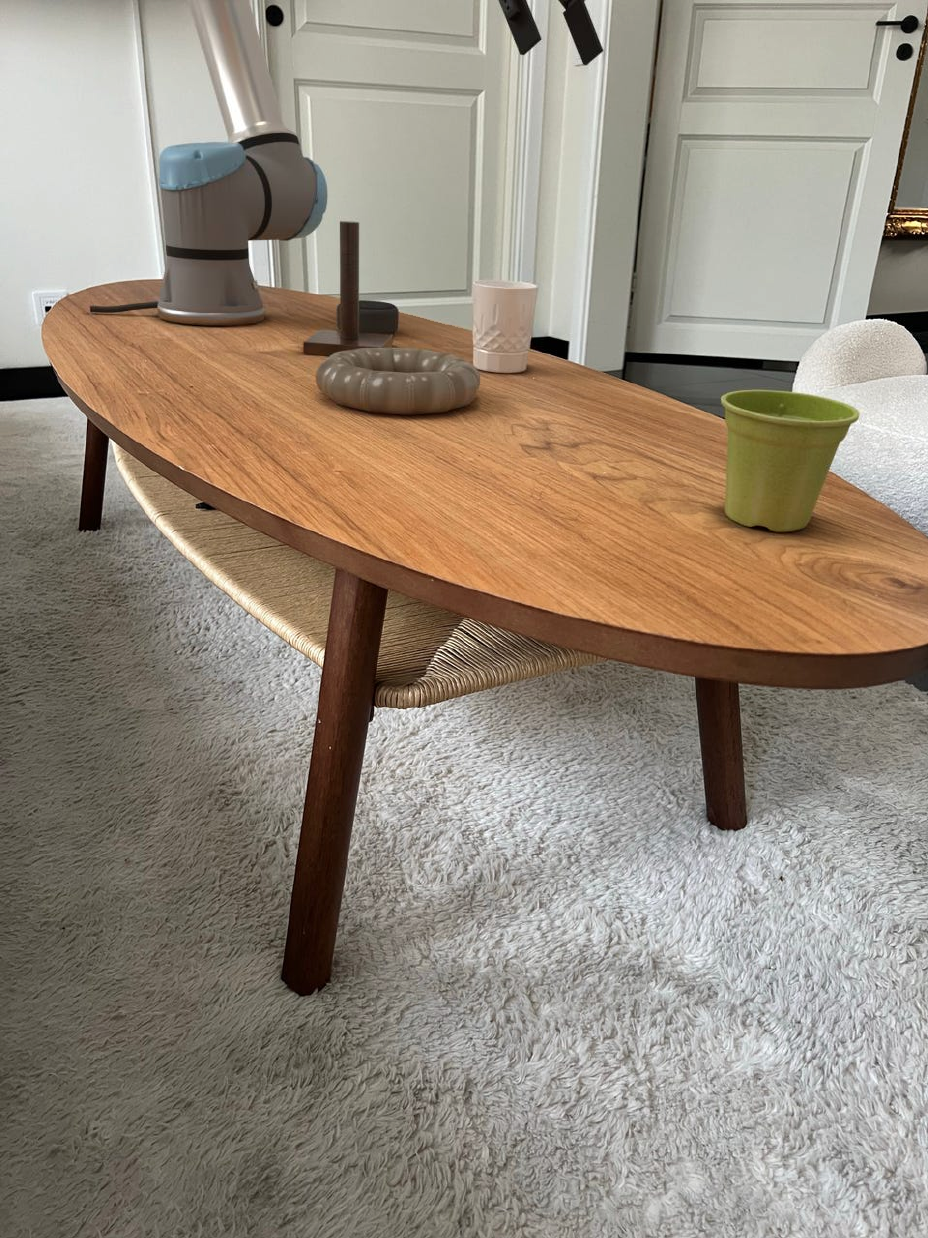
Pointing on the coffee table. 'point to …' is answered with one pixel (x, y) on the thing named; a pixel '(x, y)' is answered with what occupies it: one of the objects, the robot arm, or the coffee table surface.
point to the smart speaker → (375, 317)
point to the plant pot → (780, 454)
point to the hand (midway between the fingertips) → (563, 52)
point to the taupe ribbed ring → (398, 380)
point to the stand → (347, 305)
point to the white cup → (502, 324)
